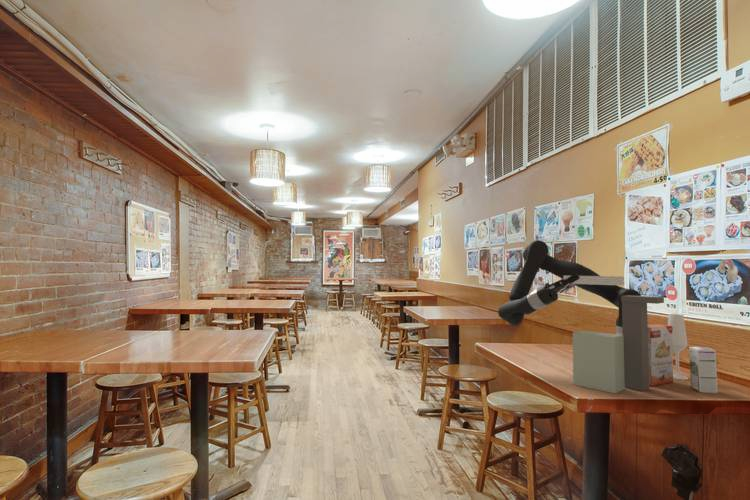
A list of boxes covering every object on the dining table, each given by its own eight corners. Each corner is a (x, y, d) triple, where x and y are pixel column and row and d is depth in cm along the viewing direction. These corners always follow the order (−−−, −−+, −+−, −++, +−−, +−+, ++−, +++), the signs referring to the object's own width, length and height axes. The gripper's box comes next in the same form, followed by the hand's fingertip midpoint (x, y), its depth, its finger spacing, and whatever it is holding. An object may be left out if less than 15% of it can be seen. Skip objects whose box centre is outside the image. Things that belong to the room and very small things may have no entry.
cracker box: (652, 387, 149) (651, 327, 150) (635, 383, 154) (634, 325, 155) (675, 382, 155) (673, 325, 156) (657, 378, 161) (656, 323, 162)
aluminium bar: (563, 283, 160) (563, 275, 160) (567, 283, 162) (567, 275, 162) (620, 285, 145) (620, 276, 145) (624, 285, 147) (624, 276, 147)
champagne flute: (662, 375, 166) (661, 313, 167) (678, 374, 166) (676, 313, 167) (676, 379, 159) (674, 315, 160) (693, 379, 160) (691, 315, 161)
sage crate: (573, 384, 151) (572, 332, 152) (583, 380, 156) (582, 330, 157) (615, 393, 141) (614, 337, 142) (624, 389, 146) (623, 335, 147)
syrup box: (718, 393, 141) (717, 349, 142) (698, 392, 142) (697, 349, 143) (708, 388, 147) (707, 346, 148) (689, 387, 148) (688, 346, 149)
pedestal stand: (623, 387, 148) (621, 296, 149) (630, 384, 152) (628, 295, 154) (659, 395, 139) (657, 297, 141) (666, 391, 144) (663, 296, 145)
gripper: (528, 288, 165) (565, 266, 154) (546, 288, 174) (583, 267, 163) (537, 306, 162) (576, 285, 151) (555, 304, 171) (593, 284, 160)
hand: (579, 275), depth 157 cm, fingers closed on aluminium bar, 3 cm apart
